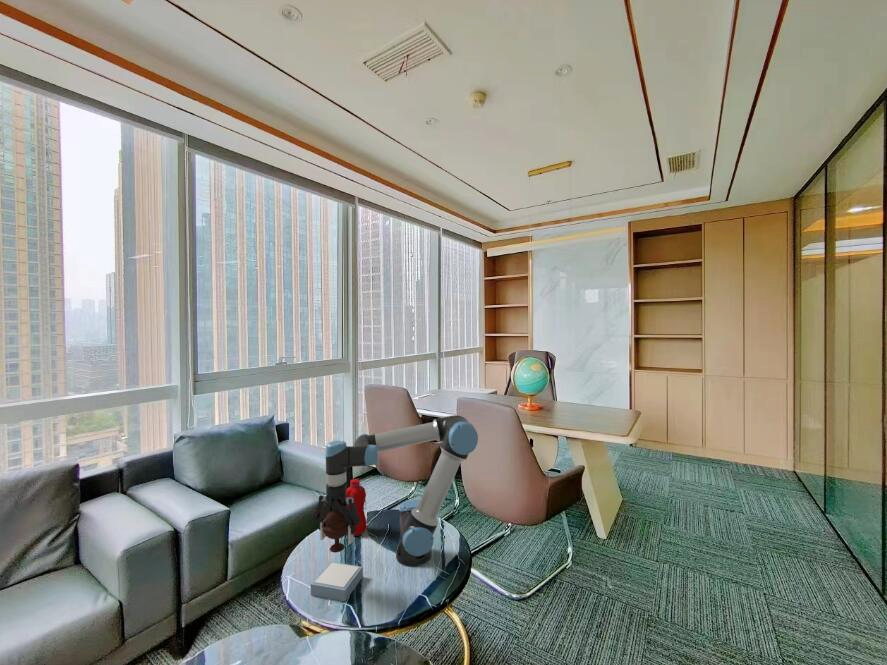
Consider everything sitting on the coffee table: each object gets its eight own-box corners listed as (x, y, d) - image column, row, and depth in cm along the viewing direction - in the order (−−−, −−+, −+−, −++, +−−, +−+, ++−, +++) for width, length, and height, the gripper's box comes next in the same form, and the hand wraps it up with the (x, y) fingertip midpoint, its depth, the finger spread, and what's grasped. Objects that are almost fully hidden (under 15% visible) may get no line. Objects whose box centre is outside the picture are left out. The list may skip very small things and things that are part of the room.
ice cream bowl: (352, 553, 142) (352, 513, 142) (321, 558, 139) (320, 517, 139) (351, 538, 152) (350, 501, 152) (322, 543, 149) (321, 505, 149)
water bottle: (360, 539, 178) (359, 485, 177) (341, 534, 182) (341, 481, 182) (372, 529, 186) (371, 478, 186) (354, 525, 191) (353, 475, 190)
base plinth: (362, 576, 151) (362, 565, 151) (345, 601, 137) (344, 589, 137) (331, 571, 154) (331, 560, 154) (310, 594, 141) (310, 583, 140)
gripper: (369, 481, 146) (369, 538, 146) (314, 476, 152) (315, 531, 152) (359, 489, 139) (360, 549, 139) (303, 483, 145) (304, 541, 145)
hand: (337, 540), depth 145 cm, fingers closed on ice cream bowl, 11 cm apart
